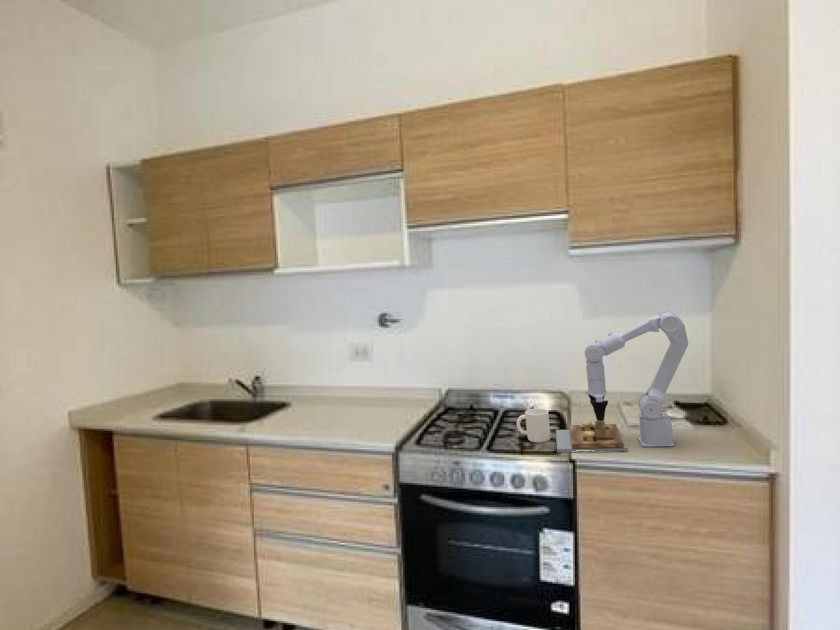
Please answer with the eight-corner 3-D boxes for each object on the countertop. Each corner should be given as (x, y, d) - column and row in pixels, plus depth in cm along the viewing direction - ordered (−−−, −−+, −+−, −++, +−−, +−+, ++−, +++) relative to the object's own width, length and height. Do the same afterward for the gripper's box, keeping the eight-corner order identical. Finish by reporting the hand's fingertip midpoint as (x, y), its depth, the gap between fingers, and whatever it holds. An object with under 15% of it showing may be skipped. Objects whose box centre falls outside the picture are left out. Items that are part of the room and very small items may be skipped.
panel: (615, 427, 173) (614, 413, 173) (624, 447, 154) (622, 431, 153) (569, 428, 177) (568, 414, 177) (572, 447, 158) (570, 432, 158)
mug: (515, 442, 174) (512, 414, 174) (520, 434, 182) (518, 408, 181) (548, 443, 169) (545, 415, 168) (552, 435, 176) (550, 408, 176)
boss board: (619, 431, 173) (618, 417, 173) (627, 451, 154) (626, 436, 153) (556, 433, 179) (555, 419, 178) (557, 452, 160) (555, 437, 159)
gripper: (582, 374, 172) (585, 411, 173) (585, 383, 158) (588, 423, 159) (603, 373, 170) (606, 411, 171) (608, 382, 156) (611, 423, 157)
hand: (599, 417), depth 165 cm, fingers open, 7 cm apart
